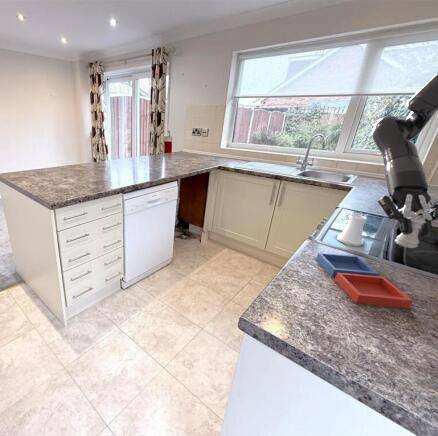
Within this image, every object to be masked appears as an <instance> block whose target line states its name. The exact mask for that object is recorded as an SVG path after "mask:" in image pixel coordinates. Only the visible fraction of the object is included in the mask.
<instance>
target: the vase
mask: <svg viewBox="0 0 438 436" xmlns="http://www.w3.org/2000/svg"><path fill="white" fill-rule="evenodd" d="M367 220H368V217H366V216H365V215H362V214H357V213H350V214H349V218H348V221H347V224H346V225H345V228H344V229H343V230H342V231H341V232H340V234H338V235H337V237H336V239H337V240H338V241H339V242H341V243H342V244H346V245H349V246H356V247H361V246H363V243H364V240H363V236H362V235H363V228H364V225H365V223H366V221H367Z"/></svg>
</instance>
